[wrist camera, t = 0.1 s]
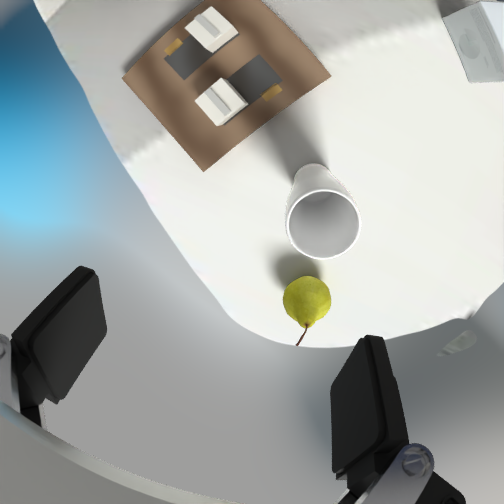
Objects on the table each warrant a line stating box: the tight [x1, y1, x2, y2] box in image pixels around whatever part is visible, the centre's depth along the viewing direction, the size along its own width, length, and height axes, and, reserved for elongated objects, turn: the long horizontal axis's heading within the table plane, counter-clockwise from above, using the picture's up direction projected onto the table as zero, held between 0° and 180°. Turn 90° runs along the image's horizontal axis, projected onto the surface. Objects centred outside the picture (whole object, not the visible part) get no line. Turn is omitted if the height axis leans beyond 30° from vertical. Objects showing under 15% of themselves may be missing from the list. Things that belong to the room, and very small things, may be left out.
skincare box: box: [442, 0, 504, 83], centre depth 19 cm, size 10×6×10 cm, turn 25°
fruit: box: [283, 276, 331, 346], centre depth 40 cm, size 7×7×12 cm
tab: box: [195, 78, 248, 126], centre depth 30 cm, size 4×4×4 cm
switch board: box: [122, 0, 331, 172], centre depth 31 cm, size 20×18×2 cm
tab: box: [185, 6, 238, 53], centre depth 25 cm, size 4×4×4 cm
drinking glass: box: [285, 164, 361, 259], centre depth 31 cm, size 7×7×15 cm
